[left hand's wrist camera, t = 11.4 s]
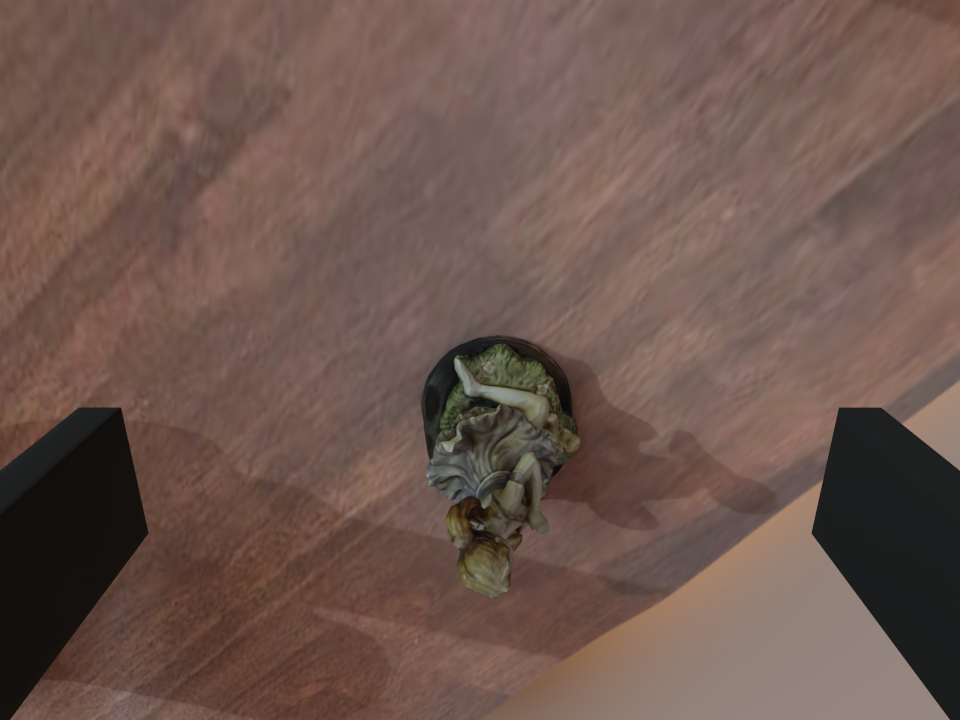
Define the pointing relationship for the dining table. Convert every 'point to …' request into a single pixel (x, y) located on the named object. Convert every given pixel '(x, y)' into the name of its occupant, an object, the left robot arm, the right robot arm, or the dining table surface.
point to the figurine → (495, 448)
